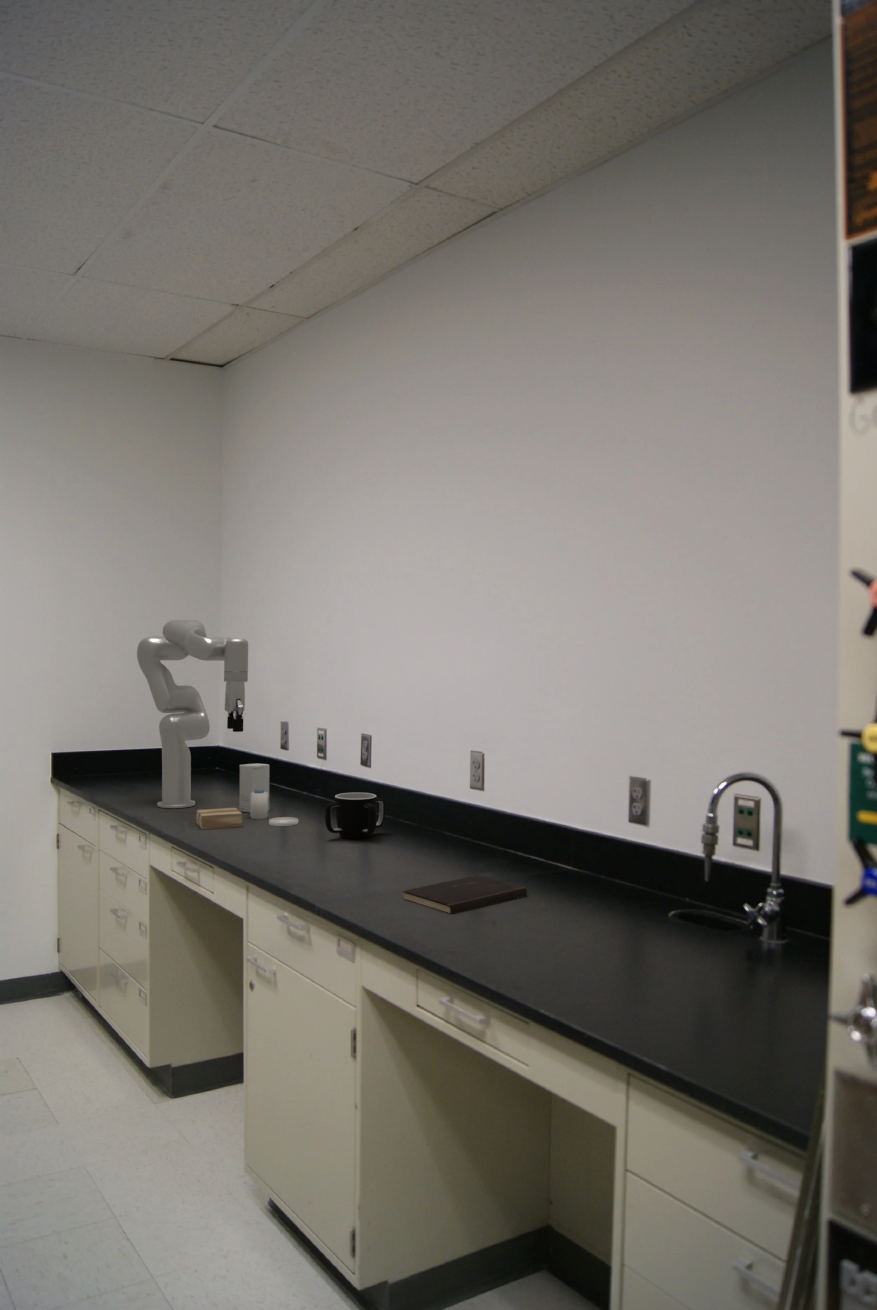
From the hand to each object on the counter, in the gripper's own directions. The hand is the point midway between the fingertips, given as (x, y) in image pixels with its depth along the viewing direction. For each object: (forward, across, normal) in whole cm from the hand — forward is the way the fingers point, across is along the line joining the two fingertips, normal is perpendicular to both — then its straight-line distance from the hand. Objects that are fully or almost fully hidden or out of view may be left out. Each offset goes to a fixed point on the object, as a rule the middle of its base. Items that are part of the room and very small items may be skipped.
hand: (235, 730), depth 313 cm
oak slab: (+28, +12, -7) cm, 31 cm away
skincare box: (+28, -9, +8) cm, 31 cm away
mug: (+27, +44, +27) cm, 59 cm away
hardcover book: (+27, +117, +30) cm, 124 cm away
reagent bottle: (+28, +4, +7) cm, 29 cm away
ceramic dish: (+28, +17, +12) cm, 35 cm away
